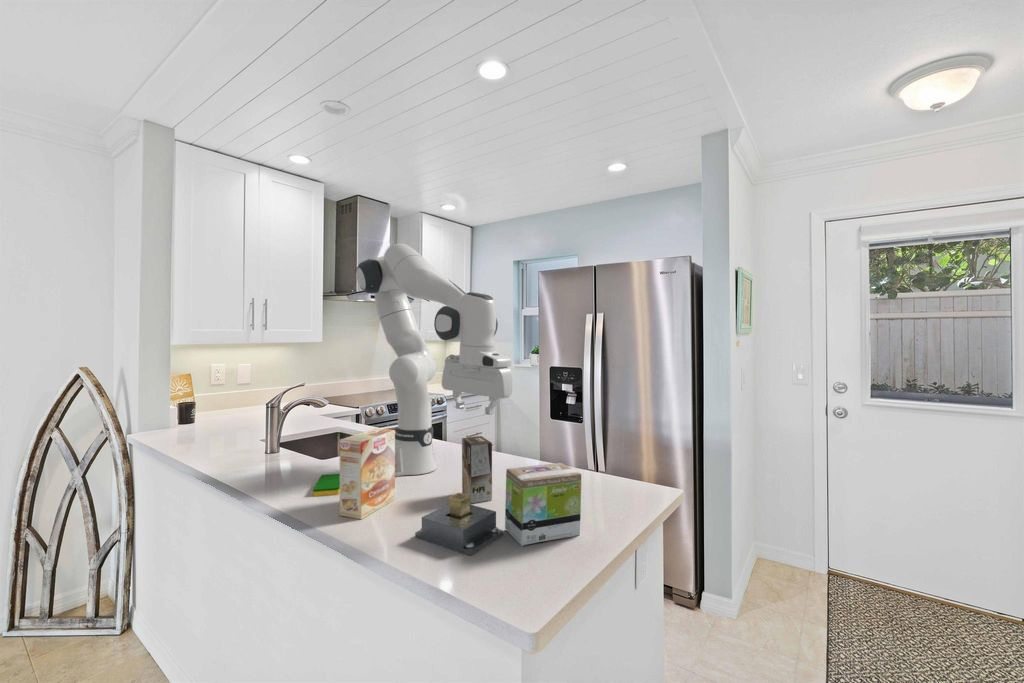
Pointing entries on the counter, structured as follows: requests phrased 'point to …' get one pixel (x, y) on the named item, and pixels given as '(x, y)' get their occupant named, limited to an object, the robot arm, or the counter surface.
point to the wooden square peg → (459, 505)
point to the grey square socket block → (460, 529)
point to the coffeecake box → (367, 472)
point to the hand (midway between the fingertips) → (474, 411)
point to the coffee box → (477, 468)
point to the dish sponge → (327, 485)
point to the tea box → (542, 503)
